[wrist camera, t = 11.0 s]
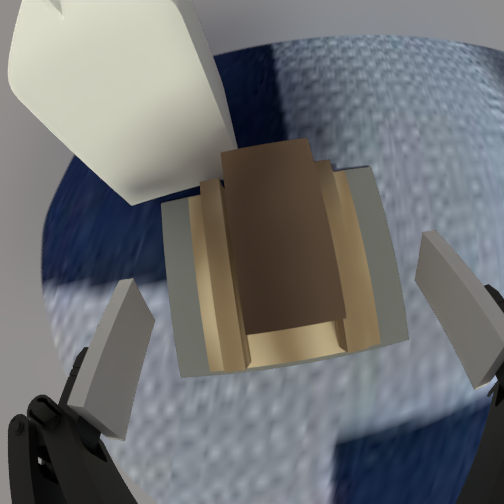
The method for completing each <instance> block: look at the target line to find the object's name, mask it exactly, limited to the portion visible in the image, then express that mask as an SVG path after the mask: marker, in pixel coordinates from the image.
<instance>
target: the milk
mask: <svg viewBox="0 0 504 504" xmlns="http://www.w3.org/2000/svg"><path fill="white" fill-rule="evenodd" d="M8 80H9V84H10V87H11V90H12V91H13V93H14V94H15V95H16V97H17V98H18V99H19V100H20V101H21V102H22V103H23V104H24V105H25V106H26V107H27V108H28V109H29V110H30V111H31V112H32V113H33V114H34V115H35V116H36V117H37V118H38V119H39V120H40V121H41V122H42V123H43V124H44V125H45V126H46V127H47V128H48V129H49V130H50V131H51V132H52V133H53V134H54V135H55V136H56V137H58V138H59V139H60V140H61V141H62V142H63V143H64V144H65V145H66V146H67V147H68V148H69V149H70V150H71V151H72V152H73V153H74V154H75V155H76V156H77V157H79V158H80V159H81V160H82V161H83V162H84V163H85V164H86V165H87V166H88V167H89V168H90V169H91V170H93V171H94V172H95V173H96V174H97V175H98V176H99V177H100V178H101V179H102V180H103V181H105V182H106V183H107V184H108V185H109V186H110V187H111V188H112V189H113V190H115V191H116V192H117V193H118V194H119V195H120V196H121V197H122V198H124V199H125V200H126V201H127V202H128V203H129V204H130V205H131V206H132V205H135V204H139V203H142V202H145V201H148V200H151V199H155V198H158V197H161V196H165V195H168V194H171V193H175V192H178V191H182V190H185V189H189V188H193V187H196V186H200V182H202V181H207V180H211V179H216V178H219V180H223V179H224V178H223V170H222V162H221V154H220V152H225V151H230V150H235V149H238V148H237V143H236V139H235V134H234V130H233V126H232V121H231V117H230V113H229V108H228V104H227V100H226V96H225V91H224V87H223V84H222V81H221V78H220V75H219V72H218V69H217V67H216V64H215V61H214V58H213V55H212V53H211V50H210V47H209V44H208V42H207V39H206V36H205V33H204V31H203V28H202V25H201V22H200V19H199V17H198V14H197V12H196V9H195V6H194V3H193V1H192V0H22V3H21V7H20V10H19V14H18V18H17V21H16V25H15V30H14V34H13V39H12V44H11V49H10V54H9V63H8Z"/></svg>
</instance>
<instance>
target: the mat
mask: <svg viewBox="0 0 504 504" xmlns="http://www.w3.org/2000/svg"><path fill="white" fill-rule="evenodd" d="M341 171H344V170H341ZM333 172H337V171H333ZM345 174H346V177H347V181H348V184H349V188H350V192H351V195H352V199H353V203H354V207H355V211H356V215H357V219H358V223H359V227H360V231H361V235H362V240H363V244H364V249H365V254H366V258H367V263H368V268H369V273H370V278H371V284H372V289H373V295H374V301H375V307H376V313H377V320H378V327H379V334H380V342H381V344H377V345H373V346H368V347H369V348H367V349H363V350H359V351H355V352H350V353H347V352H342V353H337V354H332V355H327V356H322V357H317V358H311V359H306V360H300V361H294V362H288V363H281V364H274V365H267V366H260V367H252V368H247V369H246V370H242V371H233V372H224V371H215V372H210V369H209V363H208V357H207V351H206V344H205V338H204V331H203V324H202V317H201V310H200V303H199V295H198V288H197V280H196V271H195V263H194V254H193V245H192V235H191V225H190V214H189V203H188V198H189V197H187V198H182V199H178V200H173V201H169V202H165V203H161V210H162V226H163V240H164V252H165V264H166V274H167V283H168V292H169V301H170V309H171V317H172V324H173V331H174V338H175V345H176V351H177V357H178V363H179V369H180V375H181V377H197V376H210V375H222V374H232V373H241V372H250V371H258V370H266V369H273V368H280V367H286V366H292V365H298V364H304V363H310V362H315V361H321V360H326V359H331V358H336V357H341V356H345V355H350V354H354V353H359V352H363V351H367V350H371V349H376V348H379V347H383V346H387V345H391V344H395V343H398V342H402V341H406V340H409V336H408V328H407V321H406V314H405V307H404V301H403V295H402V289H401V284H400V278H399V273H398V268H397V263H396V259H395V254H394V249H393V245H392V241H391V236H390V232H389V228H388V224H387V220H386V217H385V213H384V209H383V206H382V202H381V198H380V195H379V192H378V188H377V185H376V182H375V178H374V175H373V172H372V169H371V167H365V168H357V169H349V170H345ZM196 196H198V195H196ZM191 197H193V196H191Z"/></svg>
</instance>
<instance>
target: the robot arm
mask: <svg viewBox="0 0 504 504" xmlns="http://www.w3.org/2000/svg"><path fill="white" fill-rule="evenodd" d="M415 281H416V283H417V285H418V286H419V288H420V289H421V291H422V293H423V294H424V296H425V298H426V299H427V301H428V303H429V304H430V306H431V308H432V309H433V311H434V313H435V315H436V316H437V318H438V320H439V322H440V323H441V325H442V327H443V329H444V331H445V332H446V334H447V336H448V338H449V340H450V342H451V344H452V345H453V347H454V349H455V351H456V353H457V355H458V357H459V359H460V361H461V363H462V365H463V367H464V369H465V371H466V373H467V376H468V378H469V380H470V382H471V384H472V386H473V389H474V390H476V389H478V388H481V387H483V386H485V385H487V384H489V383H490V381H491V380H492V378H493V377H494V376H495V375H496V377H497V379H498V381H497V382H496V383H495V385H494V386H493V387H492V389H491V390H490V391H489V393H488V395H487V396H488V397H489V396H490V395H491V394H492V393H493V392H494V393H493V397H492V402H491V406H490V410H489V414H488V418H487V421H486V425H485V428H484V432H483V435H482V438H481V441H480V444H479V447H478V450H477V453H476V456H475V459H474V461H473V464H472V467H471V469H470V472H469V474H468V477H467V479H466V481H465V484H464V486H463V488H462V490H461V493H460V495H459V497H458V499H457V501H456V503H455V504H504V299H503V297H502V296H501V295H500V293H499V292H498V291H497V290H496V289H494V288H493V287H492V286H490V285H489V284H488V285H485V286H483V285H482V283H481V282H480V281H479V280H478V278H477V277H476V276H475V274H474V273H473V272H472V271H471V270H470V268H469V267H468V266H467V265H466V263H465V262H464V261H463V260H462V259H461V258H460V256H459V255H458V254H457V253H456V252H455V251H454V249H453V248H452V247H451V246H450V245H449V244H448V243H447V242H446V240H445V239H444V238H443V237H442V236H441V235H440V234H439V233H438V232H437V231H436V230H433V231H427V232H422V239H421V246H420V253H419V259H418V265H417V270H416V276H415ZM154 323H155V319H154V318H153V316H152V314H151V312H150V310H149V308H148V306H147V305H146V303H145V301H144V299H143V297H142V295H141V293H140V291H139V289H138V287H137V285H136V283H135V281H134V279H126V280H120V281H119V282H118V284H117V286H116V288H115V291H114V293H113V295H112V297H111V299H110V301H109V303H108V305H107V307H106V309H105V312H104V314H103V316H102V318H101V320H100V323H99V325H98V327H97V329H96V332H95V334H94V336H93V338H92V341H91V343H90V346H89V347H84V348H83V350H82V351H81V352H80V353H79V355H78V356H77V357H76V360H75V362H74V365H73V369H72V370H71V372H70V377H68V380H67V383H66V385H65V387H64V390H63V393H62V395H61V398H60V401H59V404H58V405H57V404H56V403H55V402H54V401H53V400H52V399H51V398H49V397H48V396H46V395H39V396H37V397H35V398H34V399H33V400H32V401H31V403H30V404H29V406H28V409H27V417H28V418H27V417H26V416H25V415H23V414H18V415H16V416H15V417H13V419H12V420H11V422H10V424H9V428H8V464H9V479H10V490H11V499H12V504H138V503H137V502H136V500H135V498H134V497H133V495H132V494H131V492H130V490H129V489H128V487H127V486H126V484H125V482H124V480H123V479H122V477H121V475H120V473H119V472H118V470H117V468H116V466H115V465H114V463H113V461H112V459H111V457H110V455H109V453H108V451H107V449H106V447H105V445H104V443H103V442H102V440H101V439H100V434H101V433H102V434H103V435H105V436H106V437H107V438H109V439H115V440H122V441H125V437H126V433H127V428H128V423H129V419H130V414H131V410H132V406H133V401H134V397H135V393H136V389H137V385H138V381H139V377H140V373H141V369H142V366H143V362H144V358H145V354H146V351H147V347H148V344H149V340H150V337H151V333H152V330H153V326H154ZM38 457H39V458H41V459H42V464H39V463H38Z"/></svg>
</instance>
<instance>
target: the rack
mask: <svg viewBox="0 0 504 504" xmlns="http://www.w3.org/2000/svg"><path fill="white" fill-rule="evenodd" d="M314 164H315V167H316V171H317V175H318V179H319V183H320V187H321V191H322V195H323V199H324V204H325V208H326V212H327V217H328V221H329V226H330V230H331V235H332V240H333V244H334V249H335V254H336V259H337V264H338V270H339V275H340V280H341V286H342V292H343V298H344V304H345V310H346V316H347V318H345V319H340V320H335V321H330V322H325V323H320V324H314V325H309V326H303V327H297V328H291V329H285V330H279V331H273V332H266V333H259V334H252V335H246V334H245V328H244V321H243V314H242V308H241V301H240V294H239V287H238V280H237V273H236V266H235V259H234V252H233V245H232V238H231V231H230V223H229V216H228V208H227V201H226V193H225V190H224V188H223V186H222V184H221V182H220V180H219V178H216V179H211V180H207V181H202V182H200V192H201V195H198V196H193V197H189V198H188V203H189V214H190V225H191V235H192V245H193V254H194V263H195V271H196V280H197V288H198V295H199V303H200V310H201V317H202V324H203V331H204V338H205V344H206V351H207V357H208V363H209V369H210V372H215V371H224V372H233V371H242V370H246V369H247V368H252V367H260V366H267V365H274V364H281V363H288V362H294V361H300V360H306V359H311V358H317V357H322V356H327V355H332V354H337V353H342V352H347V353H350V352H355V351H359V350H363V349H367V348H369V347H368V346H373V345H377V344H381V342H380V334H379V327H378V320H377V313H376V307H375V301H374V295H373V289H372V284H371V278H370V273H369V268H368V263H367V258H366V254H365V249H364V244H363V240H362V235H361V231H360V227H359V223H358V219H357V215H356V211H355V207H354V203H353V199H352V195H351V192H350V188H349V184H348V181H347V177H346V174H345V170H344V171H337V172H333V171H332V167H331V164H330V160H321V161H314Z"/></svg>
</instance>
